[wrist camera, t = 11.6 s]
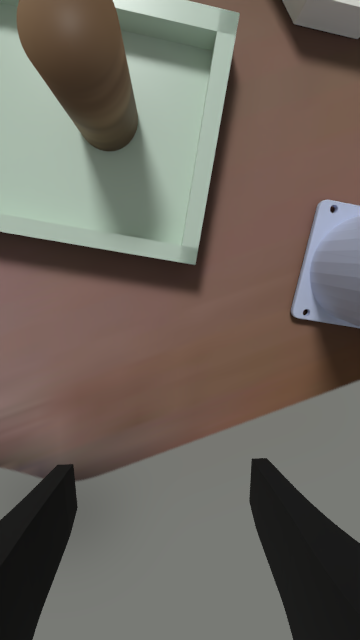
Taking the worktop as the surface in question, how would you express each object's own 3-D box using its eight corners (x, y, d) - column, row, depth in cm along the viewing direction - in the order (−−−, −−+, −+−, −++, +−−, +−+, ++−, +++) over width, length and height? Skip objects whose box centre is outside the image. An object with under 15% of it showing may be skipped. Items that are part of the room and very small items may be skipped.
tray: (230, 44, 17) (239, 12, 15) (192, 263, 20) (195, 264, 18) (-32, -16, 16) (-64, -60, 14) (-35, 225, 19) (-62, 221, 17)
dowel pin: (142, 90, 17) (125, -21, 10) (133, 156, 18) (112, 95, 11) (79, 76, 17) (19, -48, 10) (73, 144, 17) (13, 73, 11)
